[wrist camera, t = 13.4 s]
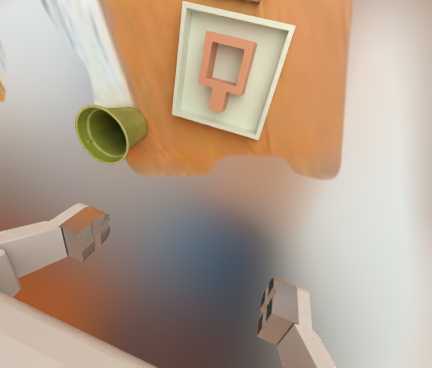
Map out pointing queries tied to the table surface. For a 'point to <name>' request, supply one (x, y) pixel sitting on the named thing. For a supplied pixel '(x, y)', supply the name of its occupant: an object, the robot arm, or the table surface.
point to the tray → (229, 67)
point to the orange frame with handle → (220, 86)
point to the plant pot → (109, 131)
